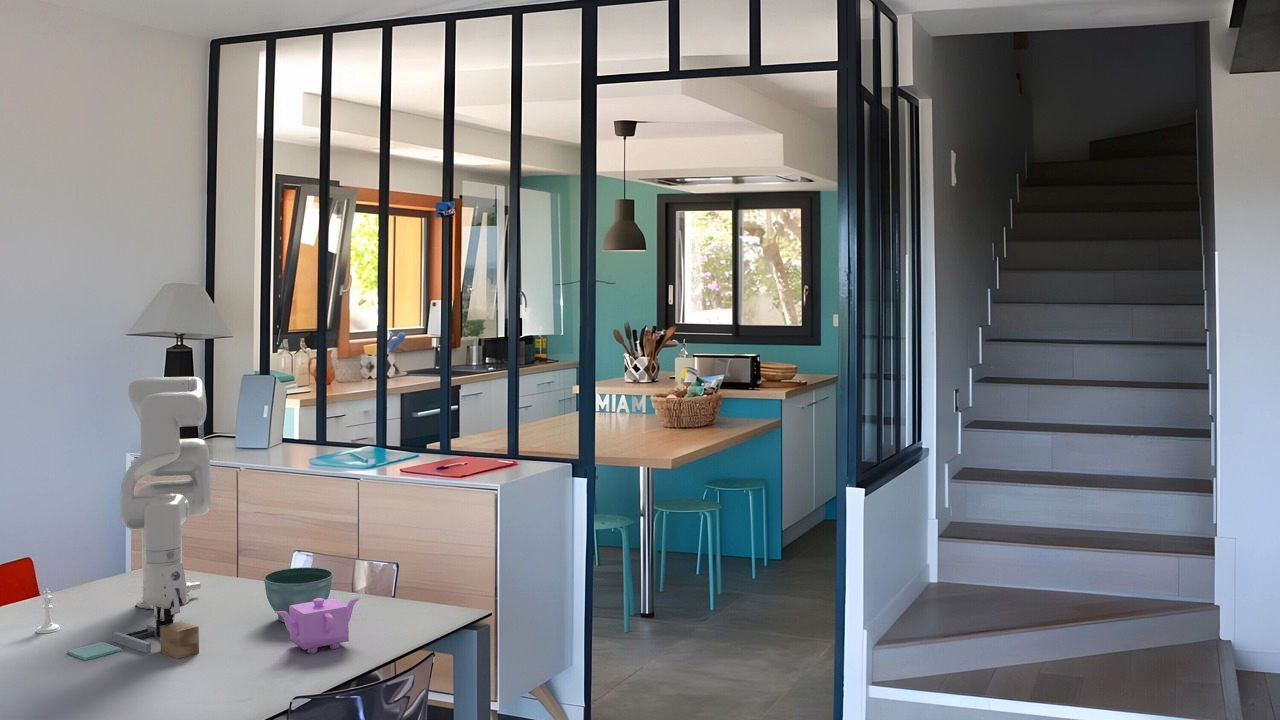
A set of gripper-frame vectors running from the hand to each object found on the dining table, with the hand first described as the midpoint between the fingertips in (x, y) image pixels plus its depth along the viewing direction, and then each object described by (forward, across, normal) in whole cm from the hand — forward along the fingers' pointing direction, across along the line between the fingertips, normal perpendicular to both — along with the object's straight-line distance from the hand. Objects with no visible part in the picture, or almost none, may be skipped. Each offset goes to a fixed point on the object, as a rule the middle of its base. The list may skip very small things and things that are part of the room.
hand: (165, 636), depth 243 cm
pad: (+3, +10, +11) cm, 15 cm away
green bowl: (+3, -5, -32) cm, 33 cm away
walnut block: (+3, -6, 0) cm, 6 cm away
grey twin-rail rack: (+3, +7, 0) cm, 7 cm away
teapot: (+3, -27, -21) cm, 34 cm away
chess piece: (+3, +35, +9) cm, 36 cm away
